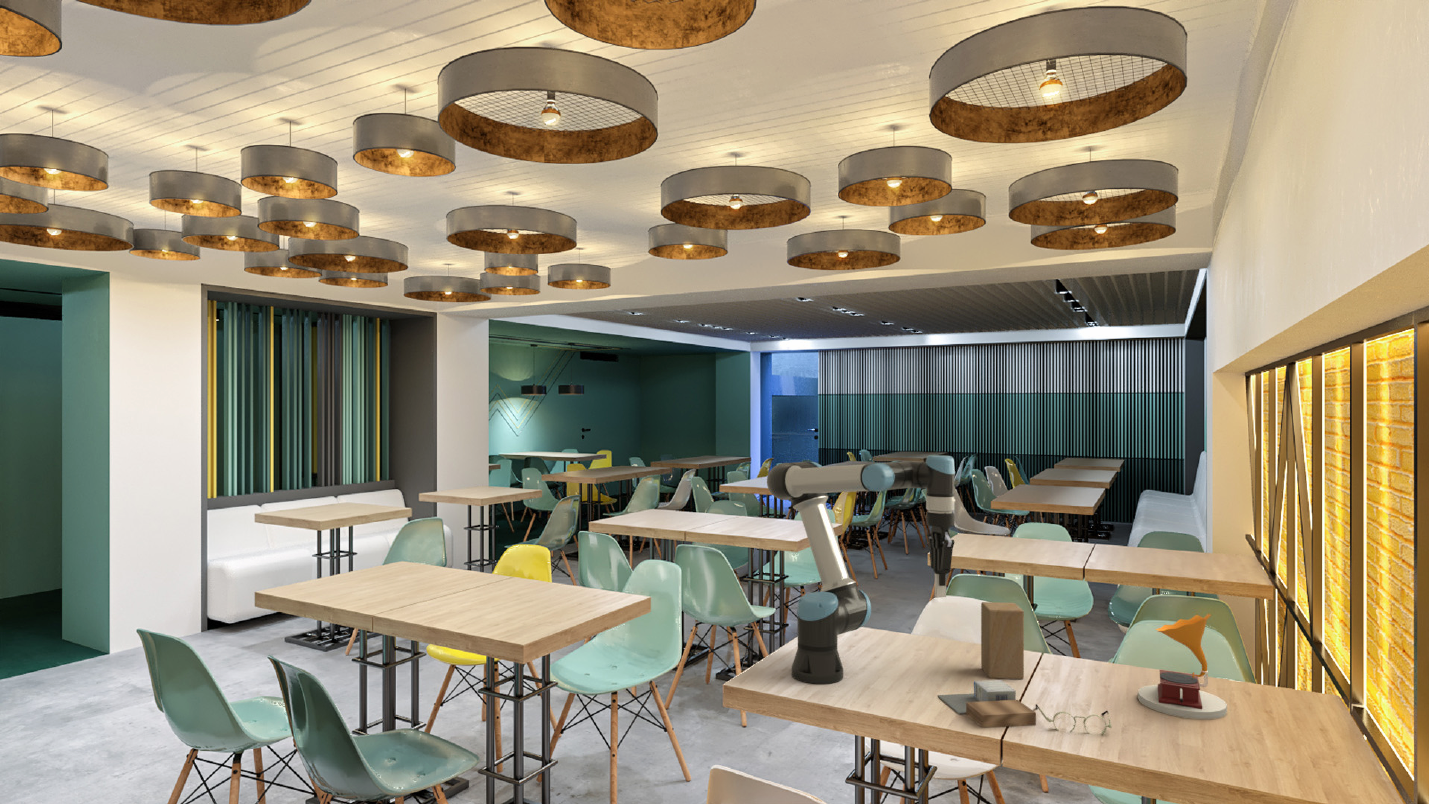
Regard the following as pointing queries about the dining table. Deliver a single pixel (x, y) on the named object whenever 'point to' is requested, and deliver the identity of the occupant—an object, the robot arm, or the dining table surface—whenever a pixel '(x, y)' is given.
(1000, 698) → the medicine box
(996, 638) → the wooden block
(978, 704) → the brown wooden flat block
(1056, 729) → the round eyeglasses
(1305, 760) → the dining table surface
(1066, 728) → the dining table surface
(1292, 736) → the dining table surface
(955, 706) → the mat
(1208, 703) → the gramophone
